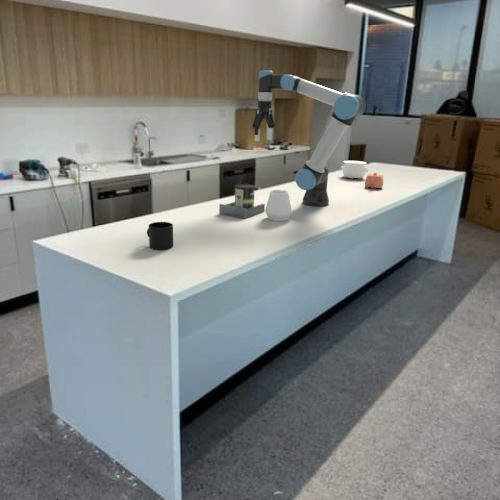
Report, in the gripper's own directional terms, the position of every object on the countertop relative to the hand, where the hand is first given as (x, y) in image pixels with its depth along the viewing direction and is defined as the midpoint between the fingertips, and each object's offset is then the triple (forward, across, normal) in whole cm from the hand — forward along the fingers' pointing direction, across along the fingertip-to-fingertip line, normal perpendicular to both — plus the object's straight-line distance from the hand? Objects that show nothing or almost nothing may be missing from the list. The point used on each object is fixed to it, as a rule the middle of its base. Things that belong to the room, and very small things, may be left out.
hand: (263, 140), depth 258 cm
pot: (+35, -118, +13) cm, 124 cm away
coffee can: (+35, +29, +7) cm, 46 cm away
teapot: (+35, -87, +39) cm, 102 cm away
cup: (+35, +30, +28) cm, 54 cm away
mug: (+35, +98, +11) cm, 105 cm away
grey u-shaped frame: (+35, +30, +7) cm, 46 cm away
